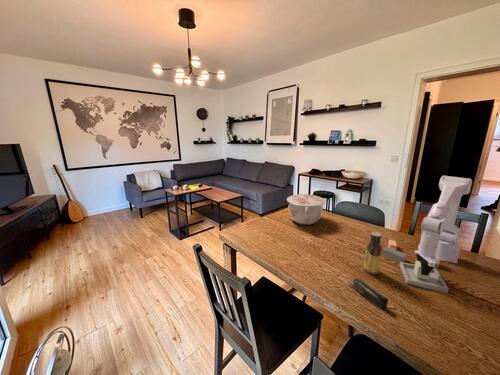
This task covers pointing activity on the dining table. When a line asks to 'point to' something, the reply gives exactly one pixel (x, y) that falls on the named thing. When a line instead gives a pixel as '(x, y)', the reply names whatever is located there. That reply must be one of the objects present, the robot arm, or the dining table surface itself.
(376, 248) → the sauce bottle
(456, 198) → the robot arm
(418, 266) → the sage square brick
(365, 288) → the dark grey bar
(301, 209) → the chamber pot
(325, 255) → the dining table surface
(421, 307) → the dining table surface
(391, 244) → the terracotta slim brick
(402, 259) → the grey rectangular block
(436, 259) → the cream round brick
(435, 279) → the grey tray
